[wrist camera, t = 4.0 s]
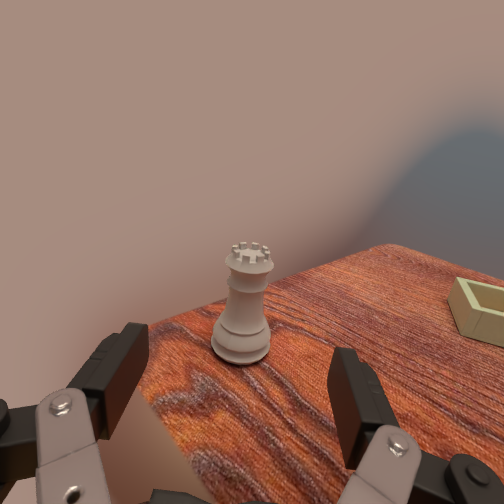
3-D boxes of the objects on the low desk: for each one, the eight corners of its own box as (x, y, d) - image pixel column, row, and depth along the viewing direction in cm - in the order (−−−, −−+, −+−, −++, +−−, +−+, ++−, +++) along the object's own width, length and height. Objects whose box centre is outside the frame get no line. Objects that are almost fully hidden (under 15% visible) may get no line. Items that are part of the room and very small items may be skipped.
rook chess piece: (254, 378, 20) (269, 270, 17) (198, 353, 22) (203, 250, 19) (277, 340, 24) (294, 247, 21) (228, 322, 26) (237, 232, 23)
